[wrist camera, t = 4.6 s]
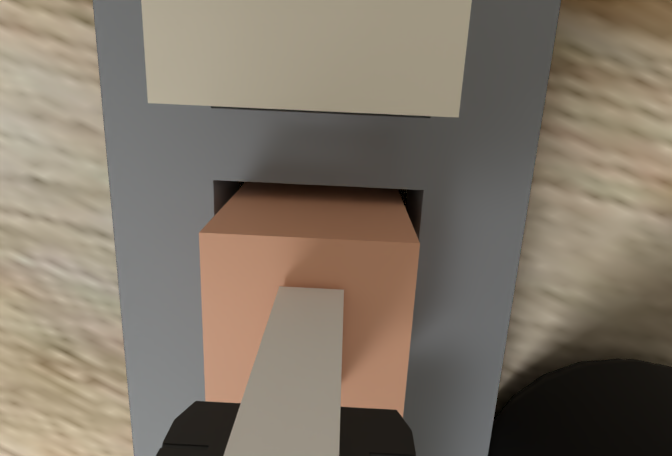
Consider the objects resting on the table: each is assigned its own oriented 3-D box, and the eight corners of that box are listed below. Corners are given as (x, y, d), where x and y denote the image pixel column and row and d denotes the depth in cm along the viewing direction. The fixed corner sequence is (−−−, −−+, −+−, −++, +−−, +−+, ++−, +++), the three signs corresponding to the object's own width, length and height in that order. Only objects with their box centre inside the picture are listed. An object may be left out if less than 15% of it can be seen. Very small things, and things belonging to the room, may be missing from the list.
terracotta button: (249, 312, 19) (205, 419, 13) (248, 178, 17) (198, 232, 11) (385, 318, 19) (402, 429, 13) (396, 185, 17) (420, 243, 11)
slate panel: (176, 513, 23) (146, 590, 19) (131, -185, 15) (69, -259, 12) (446, 528, 22) (463, 608, 19) (542, -168, 15) (599, -238, 11)
